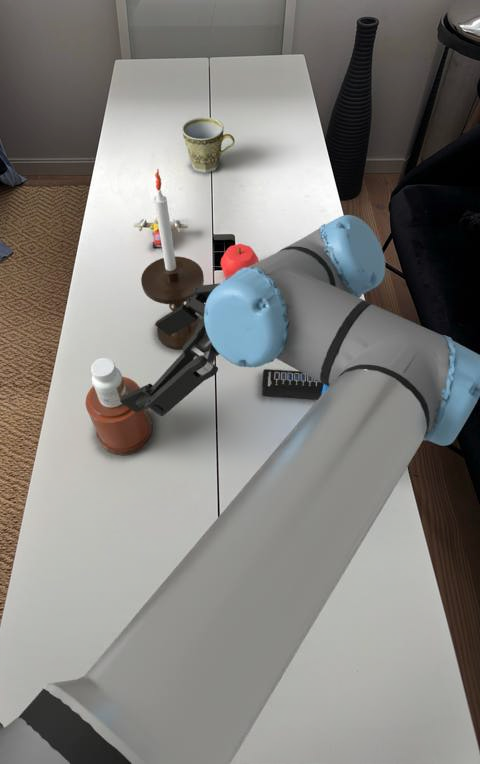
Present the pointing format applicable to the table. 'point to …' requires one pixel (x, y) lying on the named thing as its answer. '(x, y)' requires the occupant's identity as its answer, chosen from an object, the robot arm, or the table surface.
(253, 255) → the apple
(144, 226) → the toy airplane
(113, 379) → the pill bottle
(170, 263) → the candlestick
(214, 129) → the ceramic cup
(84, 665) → the table surface
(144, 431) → the brown cylindrical container
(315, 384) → the multiport hub
